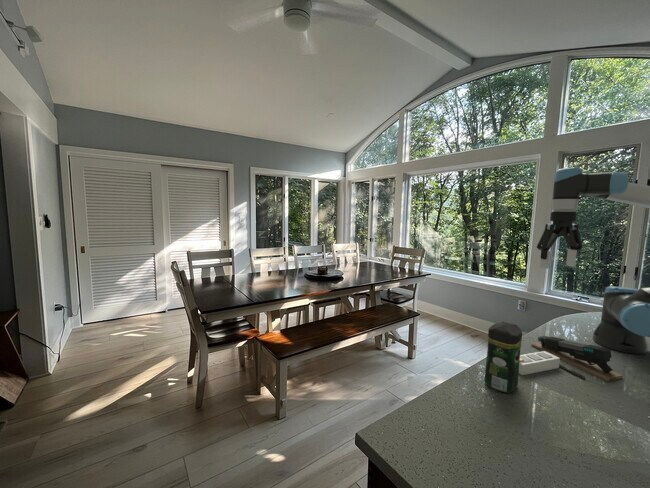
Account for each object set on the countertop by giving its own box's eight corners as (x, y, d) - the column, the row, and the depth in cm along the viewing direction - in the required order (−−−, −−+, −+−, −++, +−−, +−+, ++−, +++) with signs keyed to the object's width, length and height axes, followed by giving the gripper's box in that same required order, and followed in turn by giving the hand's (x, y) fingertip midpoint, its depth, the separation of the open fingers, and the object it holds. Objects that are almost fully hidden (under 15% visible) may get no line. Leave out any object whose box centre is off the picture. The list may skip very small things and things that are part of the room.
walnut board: (544, 343, 113) (545, 341, 113) (621, 377, 90) (622, 375, 90) (531, 345, 111) (531, 343, 111) (606, 381, 88) (607, 378, 88)
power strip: (547, 359, 101) (549, 348, 100) (587, 378, 90) (588, 366, 89) (508, 366, 96) (509, 355, 95) (544, 388, 84) (545, 375, 84)
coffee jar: (491, 373, 92) (496, 317, 90) (520, 384, 86) (526, 325, 84) (479, 384, 86) (484, 325, 84) (510, 398, 80) (516, 334, 78)
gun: (609, 374, 90) (600, 341, 92) (543, 364, 108) (536, 337, 110) (617, 372, 91) (607, 339, 93) (550, 362, 109) (544, 335, 111)
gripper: (576, 211, 114) (570, 263, 117) (528, 210, 107) (523, 266, 110) (599, 211, 107) (591, 267, 109) (549, 210, 100) (543, 270, 102)
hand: (557, 267), depth 110 cm, fingers open, 13 cm apart
